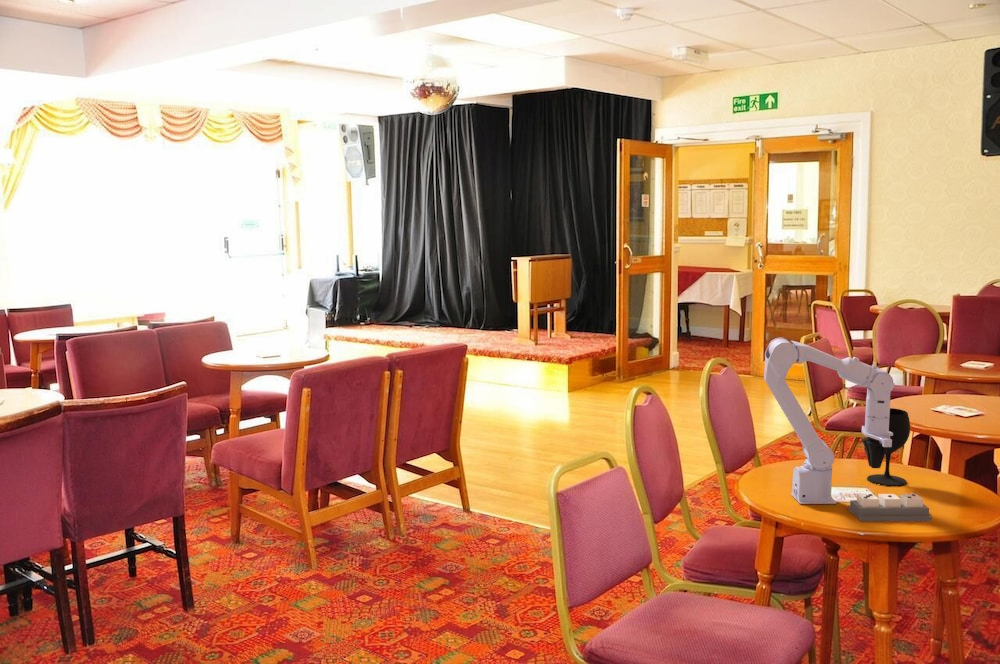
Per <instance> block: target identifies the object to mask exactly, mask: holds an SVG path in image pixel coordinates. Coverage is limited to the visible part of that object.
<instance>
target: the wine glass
mask: <svg viewBox="0 0 1000 664" xmlns="http://www.w3.org/2000/svg"><path fill="white" fill-rule="evenodd" d="M889 432H892V433H893V436H890V439H892V447H889V449H888V450H887V452H886V453H885V470H884V473H883V474H881V473H880V474H878V473H877V474H870V475H868V476H867V477H866V480H867V481H868V482H869V481H870V482H869V483H871V482H872V483H871V484H874V483H876V484H875V485H877V484H880V485H879V486H882V485H886V486H885V487H890V486H898V487H903V486H905V485H907V483H908V482H907V480H906V479H905V478H902V477H900V476H897V475H893V474H890V463H891V458H892V457H891V456H892V454H893V453H895V452H896V451H898V450H900V449H901V448H902V447H903V446H904V445H906V443H907V441H908V440H909V437H910V433H911V422H910V417H909V413H908V411H907V410H904V409H900V408H892V407H890V415H889Z"/></svg>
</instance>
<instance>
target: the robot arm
mask: <svg viewBox="0 0 1000 664" xmlns="http://www.w3.org/2000/svg"><path fill="white" fill-rule="evenodd" d="M796 362H797V363H798V364H802V363H806V362H811V363H814V364H817V365H819V366H822V367H825V368H828V369H831V370H833V371H836V372H837V374H838V376H839V377H838V378H840V379H843V380H844V381H848V382H850V383H853V384H855V385H857V386H860V387H864V388H865V387H866V389H867V390H866V398H865V417H864V418H865V420H864V425H861V433H862V434H863V435H864V436H865V438H861V441H862V444H863V446H864V449H865V452H866V457H867V462H868V467H870V468H871V469H881V467H882V464H883V461H884V458H885V457H886V455H885V453H886V452H887V450H888V449H889V447H892V439H890V436H893V433H892V432H889V415H890V408H891V392H892V391H894V388H895V386H896V385H895V382H894V379H893V376H892V375H891V374H890V373H889V372H887V371H885V370H884V369H882V368H880V367H878V366H877V365H875V364H871V365H869V364H867V363H865V362H862V361H860V359H859V358H858V357H855V356H853V357H845V358H842V359H840V358H839V357H836V356H834V355H832V354H830V353H827V352H824V351H822V350H820V349H817V348H815V347H813V346H811V345H808V344H805V343H802V342H798V341H795V340H789V339H787V338H786V337H785V338H784V337H776V338H774V339H772V340H770V342H769V344H768V346H767V347H766V350H765V352H764V369H763V370H764V371H763V372H764V373H763V378H764V382H765V383H766V385H767V387H768V388H769V390H770V392H771V393H772V395H773V397H774V399H775V400H776V402H777V403H778V406H779V407H780V409H781V410H782V412H783V414H784V416H785V417H786V418H787V420H788V422H789V424H790V425H791V427H792V429H793V430H794V432H795V434H796V435H797V437H798V439H799V441H800V443H801V445H802V452H803V453H802V454H803V455H804V456H805V457H806V459H805V460H804V462H803V465H800V466H795V467H794V468H793V471H792V483H791V484H792V486H791V487H792V488H791V497H793V498H794V499H795V500H796V501H797V502H798V503H799V504H800V505H836V504H837V501H836V500H835V499H834V498H833V497H832V484H833V464H834V462H835V454H834V452H833V451H832V449H831V448H830V447H828V445H827V443H826V441H825V440H823V439H822V438H820V436H819V434H818V433H817V432H816V429H815V428H814V427H813V424H812V423H811V421H810V420H809V418H808V416H807V415H806V413H805V412H804V409H803V408H802V406H801V404H800V403H799V401H798V400H797V398H796V397H795V394H794V393H793V391H792V390H791V388H790V387H789V385H788V383H787V381H786V377H787V375H788V373H789V370H790V369H791V368H792V367H793V365H794V364H795V363H796Z"/></svg>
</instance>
